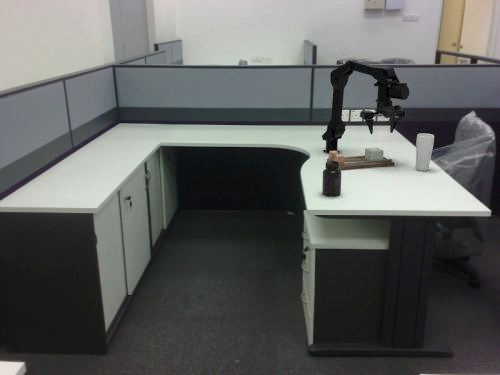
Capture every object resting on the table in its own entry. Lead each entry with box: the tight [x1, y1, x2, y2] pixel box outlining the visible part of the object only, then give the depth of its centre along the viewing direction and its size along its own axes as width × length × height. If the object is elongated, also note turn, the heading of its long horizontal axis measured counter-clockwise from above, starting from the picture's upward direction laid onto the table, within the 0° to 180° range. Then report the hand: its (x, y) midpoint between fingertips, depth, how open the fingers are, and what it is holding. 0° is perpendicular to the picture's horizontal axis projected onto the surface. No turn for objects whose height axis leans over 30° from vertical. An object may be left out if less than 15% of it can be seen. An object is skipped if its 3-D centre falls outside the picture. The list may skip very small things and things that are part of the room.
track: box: [326, 151, 395, 171], centre depth 208 cm, size 14×26×6 cm, turn 102°
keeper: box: [364, 147, 385, 161], centre depth 209 cm, size 6×6×4 cm
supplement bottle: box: [321, 160, 342, 197], centre depth 171 cm, size 7×7×12 cm
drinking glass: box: [415, 132, 435, 172], centre depth 197 cm, size 7×7×15 cm
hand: (381, 133), depth 204 cm, fingers open, 9 cm apart
